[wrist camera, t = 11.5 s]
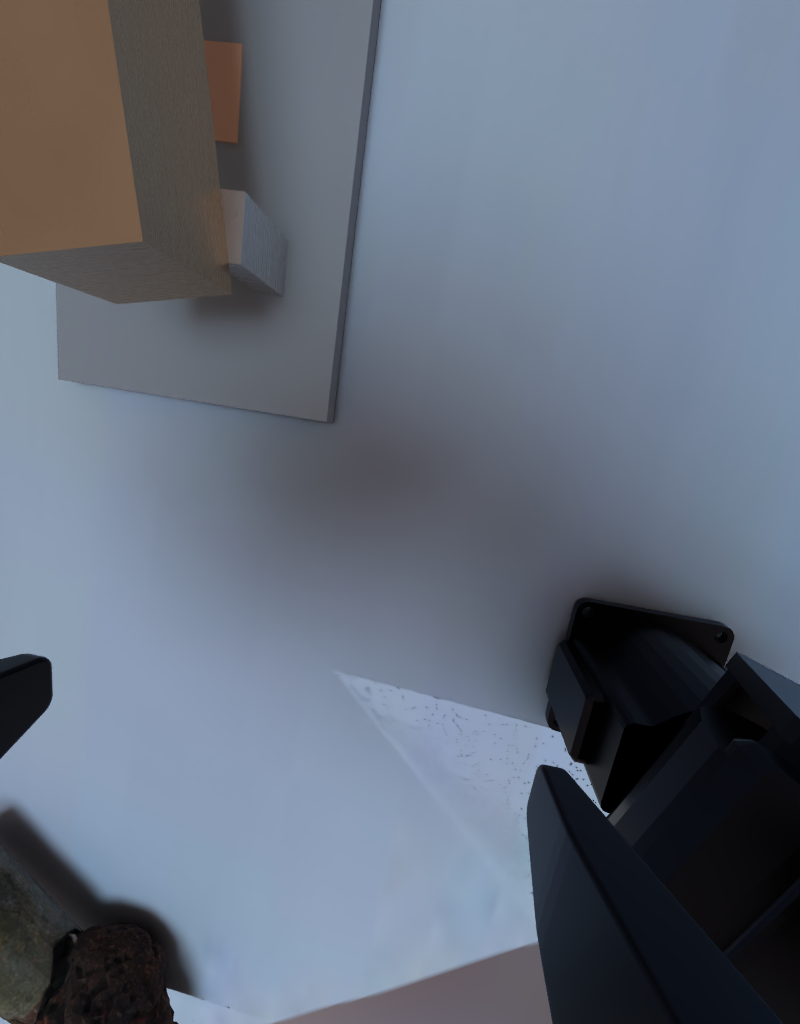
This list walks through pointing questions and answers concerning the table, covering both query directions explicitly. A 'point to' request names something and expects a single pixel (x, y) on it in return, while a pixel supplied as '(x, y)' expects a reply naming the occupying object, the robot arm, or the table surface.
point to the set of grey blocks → (254, 245)
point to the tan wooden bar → (110, 149)
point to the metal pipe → (73, 963)
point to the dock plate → (284, 200)
